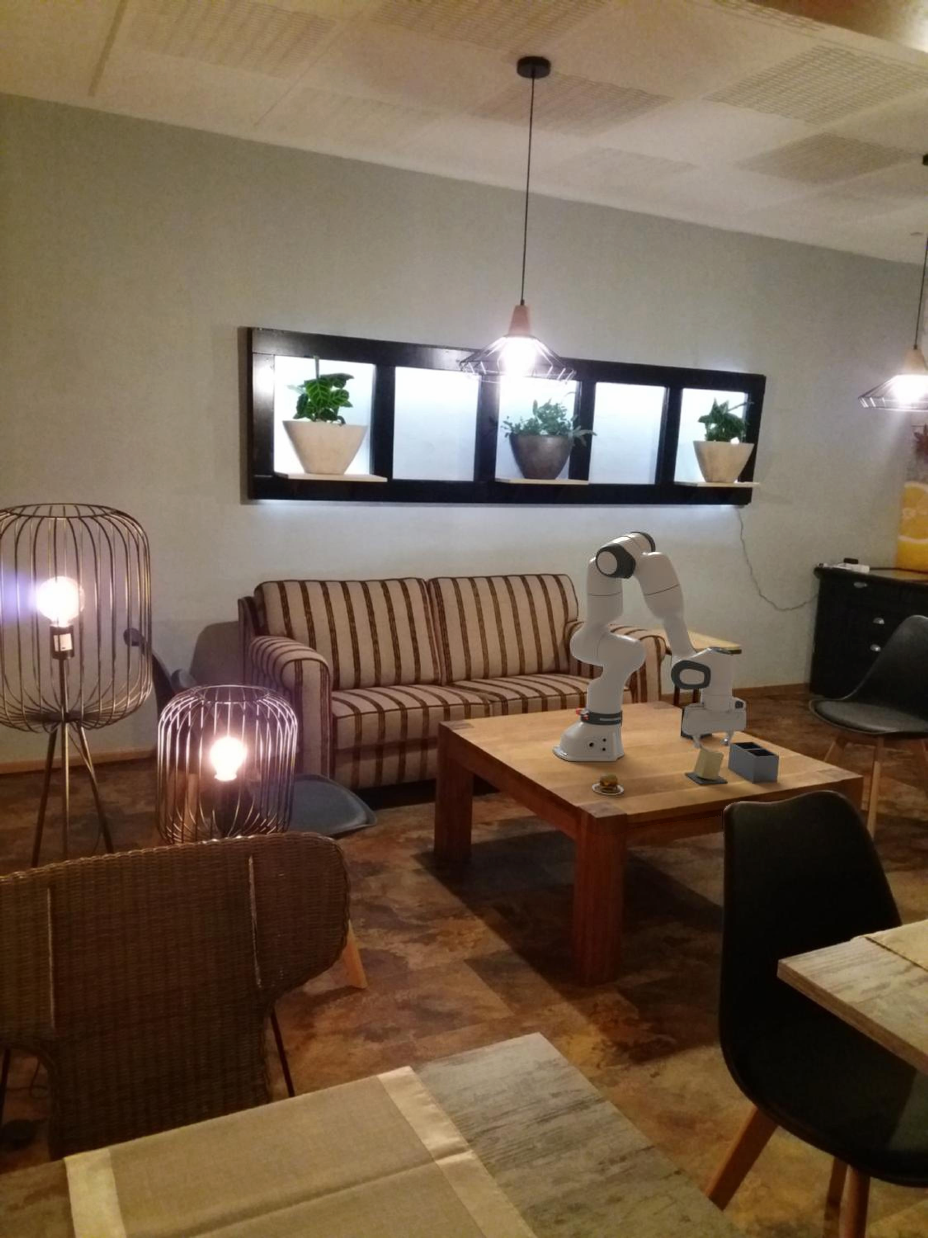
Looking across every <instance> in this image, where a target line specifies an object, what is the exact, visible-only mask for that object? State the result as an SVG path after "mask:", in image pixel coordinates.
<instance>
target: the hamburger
mask: <svg viewBox="0 0 928 1238" xmlns="http://www.w3.org/2000/svg"><path fill="white" fill-rule="evenodd" d="M598 781H599V782H597V783H596V784H595V783H594V784H593V785H592V786H591V789H592V790H593V791H595V792H596V793H598V794H600V795H601V794H602V795H606V796H607V795H608V796H614V795H619V794H622V793H623V792H624V790H625V789H624V788H623V787H622V786H621V785H620V784H619V781H618V777H617V776H616V775H615V774H613V773H611V772H606V773H603V774H601V776H600V777H599V780H598ZM597 787H599V790H600V791H601V792H600V791H597V790H596V788H597ZM618 789H619V791H620V792H617V793H616V791H617V790H618Z"/></svg>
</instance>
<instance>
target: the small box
mask: <svg viewBox="0 0 928 1238" xmlns="http://www.w3.org/2000/svg"><path fill="white" fill-rule="evenodd" d="M697 703H700V701H698V702H697ZM687 706H688V705H686V706H681V707H682V708H681V721H680V722H681V723H680V737H681V736H682V738H686V739H689V738H690V739H689V740H692V739H693V737H692V735H688V734H686V733H684V732H683V731H682V723H683V718H684V712H685V708H686V707H687ZM708 735H709V736H711V735H713V733H711V734H700V738H701V739H703V738H706V737H709V736H708ZM705 736H706V737H705ZM700 738H699V740H700ZM693 741H694V739H693Z"/></svg>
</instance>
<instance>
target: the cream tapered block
mask: <svg viewBox="0 0 928 1238" xmlns="http://www.w3.org/2000/svg"><path fill="white" fill-rule="evenodd" d="M724 757H725V754H724V753H722V752H720V751H719V750H717V749H715V748H711V747H706V746H702V748H699V753H698V756H697V759H696V763H695V765H694V767H693V768H694V769H693V772H695V773H696V774H697V775H699V776H700V777H702V778H707V779H711V780H716V779H717V776H718V775H719V773H720V769H721V766H722V762H723V760H724Z"/></svg>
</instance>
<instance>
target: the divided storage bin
mask: <svg viewBox="0 0 928 1238" xmlns="http://www.w3.org/2000/svg"><path fill="white" fill-rule="evenodd" d="M728 750H729V752H728V765H727V769H729V770H730V771H732V772H734V773H736V774H737V775H739V776H740V777H742V778H743V779H746V780H747V781H748V782H750V781H751V782H752V783H751V782H750V783H751V784H763V782H766V783H774V782H773V781H777V782H778V776H779V775H778V774H779V773H778V772H779V763H780V755H779V754H777V753H775V752H773V751H771V750H769V749H767V748H766V747H764V746H762V745H761V744H758V743H757V742H755V741H738V742H729V749H728Z"/></svg>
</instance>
